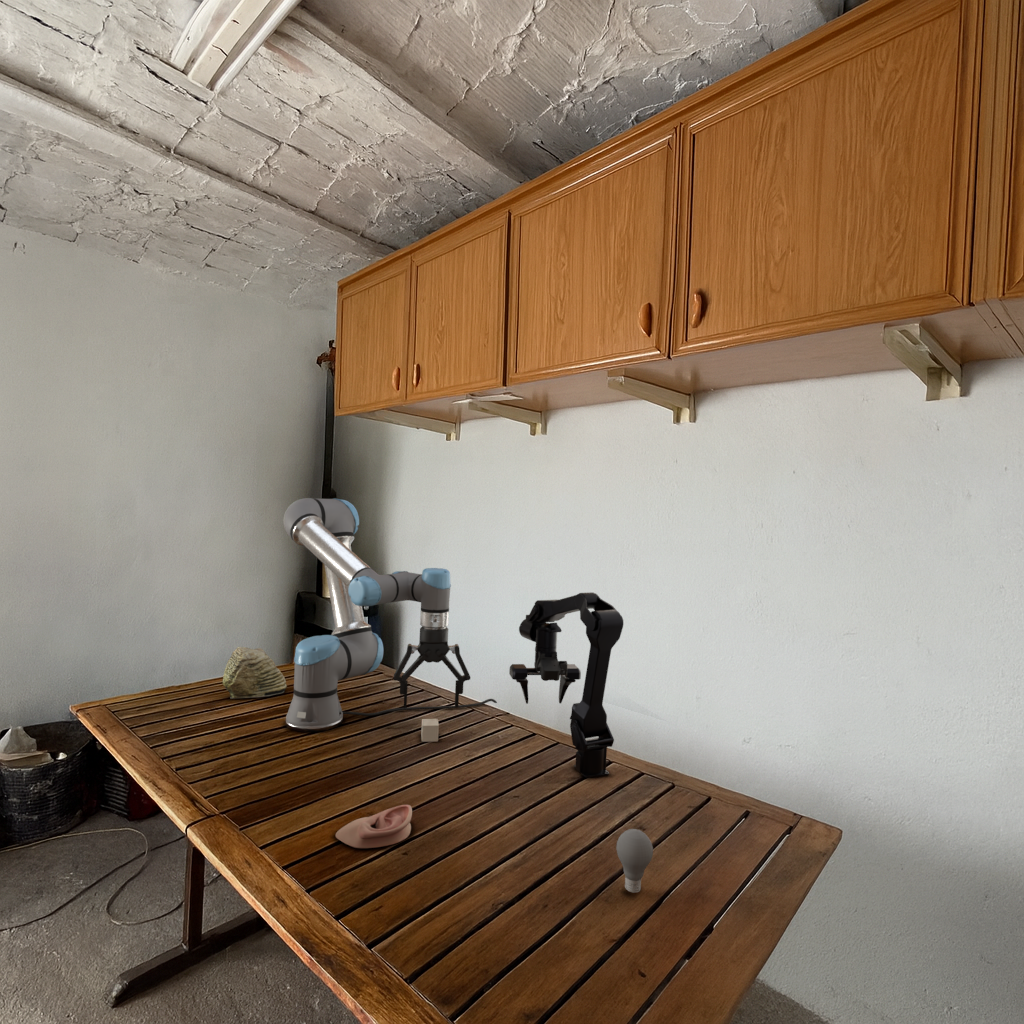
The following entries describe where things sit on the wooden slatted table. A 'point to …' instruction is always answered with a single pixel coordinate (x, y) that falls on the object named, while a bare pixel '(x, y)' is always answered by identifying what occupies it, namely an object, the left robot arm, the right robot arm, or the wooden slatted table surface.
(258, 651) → the fossil
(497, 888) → the wooden slatted table surface
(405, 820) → the anatomical model
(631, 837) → the light bulb
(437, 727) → the block
